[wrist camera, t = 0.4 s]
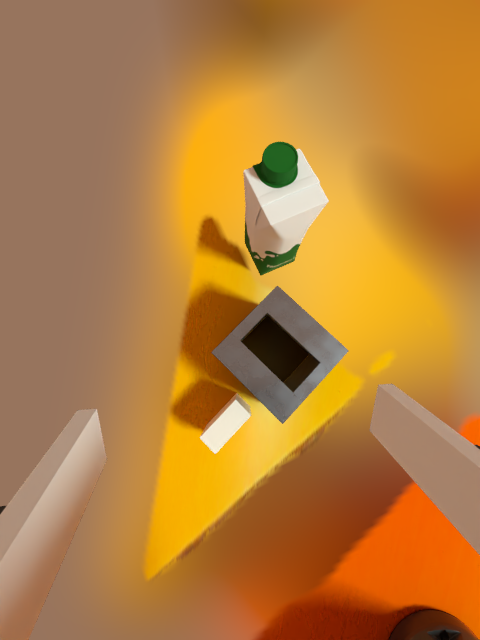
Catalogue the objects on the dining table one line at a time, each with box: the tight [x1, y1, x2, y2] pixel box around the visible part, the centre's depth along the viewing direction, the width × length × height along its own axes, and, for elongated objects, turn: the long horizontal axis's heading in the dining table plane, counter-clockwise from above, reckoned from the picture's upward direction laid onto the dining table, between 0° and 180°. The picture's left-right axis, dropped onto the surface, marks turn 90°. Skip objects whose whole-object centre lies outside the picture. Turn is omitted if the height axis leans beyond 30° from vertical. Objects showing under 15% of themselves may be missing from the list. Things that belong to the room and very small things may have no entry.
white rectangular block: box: [200, 393, 251, 454], centre depth 38 cm, size 7×3×8 cm, turn 136°
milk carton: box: [244, 142, 329, 275], centre depth 37 cm, size 9×9×20 cm
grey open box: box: [212, 286, 348, 424], centre depth 37 cm, size 12×12×13 cm
